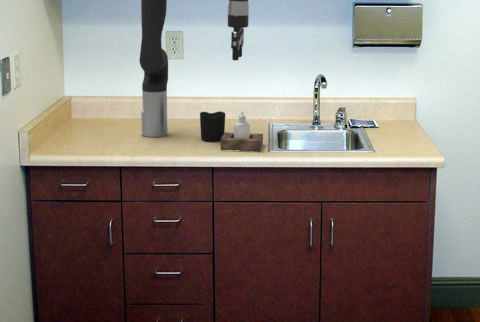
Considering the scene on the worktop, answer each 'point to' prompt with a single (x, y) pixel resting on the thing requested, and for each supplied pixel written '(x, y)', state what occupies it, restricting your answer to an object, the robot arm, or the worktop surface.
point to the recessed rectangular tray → (242, 142)
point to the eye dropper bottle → (242, 128)
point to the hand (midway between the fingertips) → (237, 58)
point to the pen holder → (212, 126)
